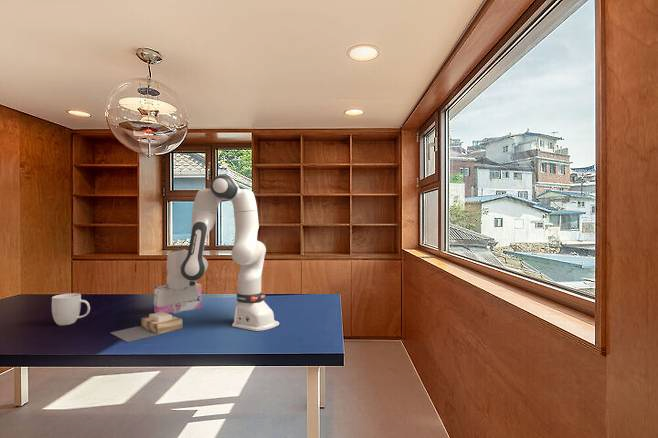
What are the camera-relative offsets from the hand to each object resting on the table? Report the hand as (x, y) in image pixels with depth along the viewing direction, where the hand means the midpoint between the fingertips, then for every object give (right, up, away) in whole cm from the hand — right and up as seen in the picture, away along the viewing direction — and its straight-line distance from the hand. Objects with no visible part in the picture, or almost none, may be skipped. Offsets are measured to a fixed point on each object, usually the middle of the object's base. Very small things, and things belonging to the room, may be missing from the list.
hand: (176, 312), depth 163 cm
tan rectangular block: (-4, -5, -6) cm, 9 cm away
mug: (-51, -5, +1) cm, 51 cm away
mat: (-12, -5, -15) cm, 20 cm away
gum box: (-10, -6, +25) cm, 28 cm away
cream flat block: (-5, -1, -6) cm, 8 cm away
